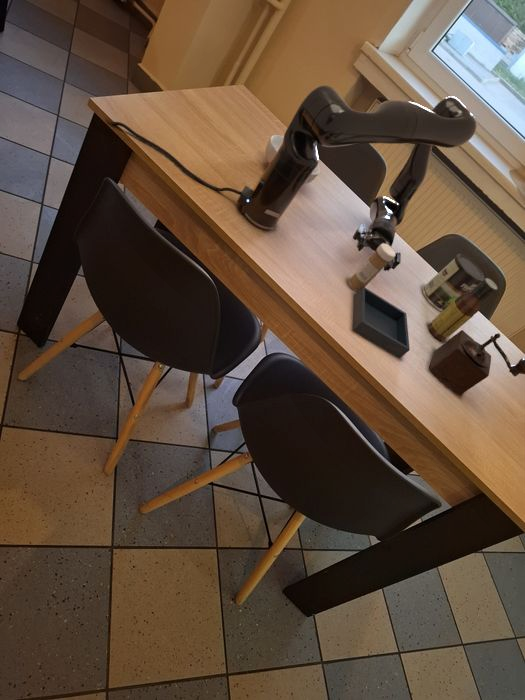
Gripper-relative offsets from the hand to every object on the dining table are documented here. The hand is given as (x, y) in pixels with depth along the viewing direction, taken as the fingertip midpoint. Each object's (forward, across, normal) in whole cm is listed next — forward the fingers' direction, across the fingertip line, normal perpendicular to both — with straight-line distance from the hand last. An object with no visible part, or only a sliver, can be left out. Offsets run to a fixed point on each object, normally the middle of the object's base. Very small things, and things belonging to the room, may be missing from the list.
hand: (374, 258), depth 127 cm
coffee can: (-19, +26, +7) cm, 33 cm away
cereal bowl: (-24, -32, +7) cm, 41 cm away
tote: (+15, +9, +7) cm, 19 cm away
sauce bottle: (-2, +27, +7) cm, 28 cm away
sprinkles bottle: (+5, 0, +7) cm, 9 cm away
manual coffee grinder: (+13, +34, +7) cm, 37 cm away
